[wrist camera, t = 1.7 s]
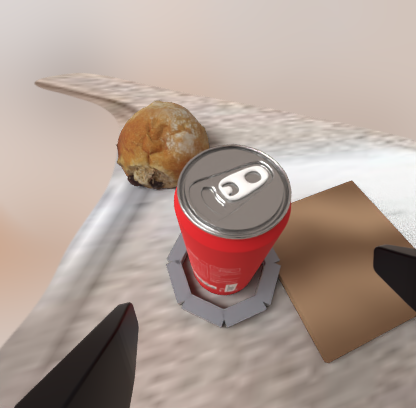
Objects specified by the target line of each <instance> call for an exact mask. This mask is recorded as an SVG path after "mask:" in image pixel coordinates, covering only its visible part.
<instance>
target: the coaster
mask: <svg viewBox="0 0 416 408" xmlns="http://www.w3.org/2000/svg"><path fill="white" fill-rule="evenodd" d="M386 244H387V245H394V246H401V247H407V248H414V247H413V246H412V245H411V244H410V243H409V242H408V241H407V240H406V239H405V238H404V236H403V235H402V234H401V233H400V232H399V231H398V230H397V229H396V228H395V227H394V226H393V225H392V223H391V222H390V221H389V220H388V219H387V218H386V217H385V216H384V215H383V214H382V213H381V211H380V210H379V209H378V208H377V207H376V206H375V205H374V204H373V203H372V202H371V201H370V200H369V198H368V197H367V196H366V195H365V194H364V193H363V192H362V191H361V190H360V189H359V188H358V187H357V185H356V184H355V183H354V182H353V181H349V182H346V183H344V184H341V185H338V186H336V187H333V188H330V189H327V190H325V191H322V192H319V193H317V194H314V195H311V196H309V197H306V198H303V199H301V200H298V201H295V202H293V203H291V213H290V217H289V220H288V223H287V225H286V227H285V228H284V230H283V231H282V233H281V235H280V236H279V238H278V239H277V241H276V242H275V244H274V245H273V249H274V251H275V252H276V254H277V256H278V258H279V259H280V261H279V262H277V263H276V264H278V265H281V267H280V271H279V275H278V277H279V279H280V281H281V283H282V285H283V287H284V288H285V290H286V292H287V294H288V296H289V298H290V299H291V301H292V303H293V305H294V307H295V309H296V310H297V312H298V314H299V316H300V318H301V320H302V321H303V323H304V325H305V327H306V329H307V331H308V332H309V334H310V336H311V338H312V340H313V342H314V343H315V345H316V347H317V349H318V351H319V352H320V354H321V356H322V358H323V360H324V362H326V363H330V362H331V361H333V360H335V359H337V358H339V357H341V356H343V355H345V354H346V353H348V352H350V351H352V350H354V349H356V348H358V347H359V346H361V345H363V344H365V343H367V342H369V341H371V340H372V339H374V338H376V337H378V336H380V335H382V334H384V333H385V332H387V331H389V330H391V329H393V328H395V327H397V326H398V325H400V324H402V323H404V322H406V321H408V320H410V319H411V318H413V317H415V316H416V312H415V311H414V310H413V309H412V308H411V307H410V306H409V305H408V304H407V303H405V302H404V301H403V300H402V299H401V298H400V297H399V296H398V295H397V294H396V293H395V292H394V291H393V290H392V289H391V288H390V287H389V286H388V285H387V284H386V283H385V282H384V281H383V280H382V279H381V278H380V277H379V276H378V275H377V273H376V272H375V271H374V268H373V253H374V248H375V247H377V246H381V245H386ZM414 249H415V248H414Z"/></svg>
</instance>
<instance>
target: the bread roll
mask: <svg viewBox="0 0 416 408" xmlns="http://www.w3.org/2000/svg"><path fill="white" fill-rule="evenodd" d="M117 149H118V161H117V163H118V164H119V165H120V166H121V167H122V169H123V170H124V172H125V174H126V176H128V181H129V182H130V183H131V184H132V185H134V186H142V185H143V186H145V187H147V188H153V189H160V188H173V187H176V186H177V183H178V179H179V176H180V173H181V171H182V170H183V168H184V167H185V165H186V164H187V163H188V162H189V161H190V160H191V159H192V158H193V157H194V156H196V155H197V154H199V153H200V152H202V151H204V150H207V149H209V143H208V136H207V134H206V131H205V128H204V127H203V126H201V124H200V123H199V122H198V121H197V120H196V118H195V117H194V116H193V115H192V114H191V113H190V112H189V111H188V110H187V109H186V108H184V107H182V106H181V105H178V104H175V103H172V102H162V101H154V102H153V103H151V104H150V105H149V106H147V107H145V108H143V109H141V110H140V111H138V112H136V113H135V114H134V115H133V116H132V117H131V118H130V119H129V120H128V121H127V123H126V124H125V126H124V128H123V129H122V131H121V133H120V136H119V139H118V144H117Z"/></svg>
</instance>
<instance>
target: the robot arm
mask: <svg viewBox="0 0 416 408" xmlns="http://www.w3.org/2000/svg"><path fill="white" fill-rule="evenodd" d="M373 268H374V271H375V272H376V273H377V275H378V276H379V277H380V278H381V279H382V280H383V281H384V282H385V283H386V284H387V285H388V286H389V287H390V288H391V289H392V290H393V291H394V292H395V293H396V294H397V295H398V296H399V297H400V298H401V299H402V300H403V301H404V302H405V303H407V304H408V305H409V306H410V307H411V308H412V309H413V310H414V311H415V312H416V249H414V248H407V247H401V246H394V245H387V244H386V245H381V246H377V247H375V248H374V253H373ZM137 342H138V321H137V317H136V314H135V311H134V307H133V305H132V303H130V302H129V303H124V304H120V305H118V306H117V307H116V308H115V309H114V310H113V311H112V312H111V313H110V314H109V315H108V316H107V317H106V318H105V319H104V320H102V321H101V322H100V323H99V324H98V325H97V326H96V327H95V328H94V329H93V330H92V331H91V332H90V333H89V334H88V335H87V336H86V337H85V338H84V339H83V340H82V341H81V342H80V343H79V344H78V345H77V346H76V347H75V348H74V349H73V350H72V351H71V352H70V353H69V354H68V355H67V356H66V357H65V358H64V359H63V360H62V361H61V362H59V363H58V364H57V365H56V366H55V367H54V368H53V369H52V370H51V371H50V372H49V373H48V374H47V375H46V376H45V377H44V378H43V379H42V380H41V381H40V382H39V383H38V384H37V385H36V386H35V387H34V388H33V389H32V390H31V391H30V392H29V393H28V394H27V395H26V396H25V397H24V398H23V399H22V400H21V401H20V402H18V403H17V404H16V405H15V407H14V408H130V403H131V397H132V391H133V385H134V379H135V368H136V355H137Z"/></svg>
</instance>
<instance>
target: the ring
mask: <svg viewBox="0 0 416 408" xmlns="http://www.w3.org/2000/svg"><path fill="white" fill-rule="evenodd" d="M187 254H188V253H187V249H186V246H185V243H184V239H183V236H182V233H180V235H179V237H178V239H177V241H176V242H175V244H174V246H173V248H172V250H171V252H170V254H169V256H168V257H167V260H168V262H169V263H168V264H166V266H167V269H168V273H169V276H170V279H171V283H172V286H173V289H174V293H175V296H176V300H177V303H178V304H179V305H181V304H183V303H184V304H183V306H182V309H183V310H185V311H187V312H189V313H191V314H193V315H195V316H197V317H199V318H201V319H204V320H206V321H208V322H210V323H212V324H214V325H216V326H218V327H220V328H221V326H222V324H223V321H224V322H225V325H226V328H228V327H230V326H232V325H234V324H236V323H239V322H241V321H243V320H245V319H247V318H250V317H252V316H254V315H256V314H258V313H260V312H263V311H265V310H267V309H266V307H265V305H266V306H269V305H271V301H272V297H273V293H274V290H275V286H276V282H277V278H278V275H279V271H280V267H281V265H278V264H276V263H277V262H279V261H280V259H279V258H278V256H277V254H276V252H275V251H274V249H273V247H272V248H271V250H270V251H269V253H268V254H267V256H266V257H265V259H264V260H263V262H262V264H263V270H262V273H261V276H260V279H259V283H258V286H257V289H256V292H255V296H253V297H250V298H248V299H246V300H244V301H241V302H239V303H237V304H235V305H232V306H230V307H228V308H226V309H222V308H220V307H218V306H216V305H214V304H212V303H210V302H207V301H205V300H203V299H201V298H199V297H197V296H195V295H192V293H191V291H190V288H189V285H188V282H187V279H186V276H185V273H184V270H183V267H182V264H183V262H184V260H185V258H186V256H187Z"/></svg>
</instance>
